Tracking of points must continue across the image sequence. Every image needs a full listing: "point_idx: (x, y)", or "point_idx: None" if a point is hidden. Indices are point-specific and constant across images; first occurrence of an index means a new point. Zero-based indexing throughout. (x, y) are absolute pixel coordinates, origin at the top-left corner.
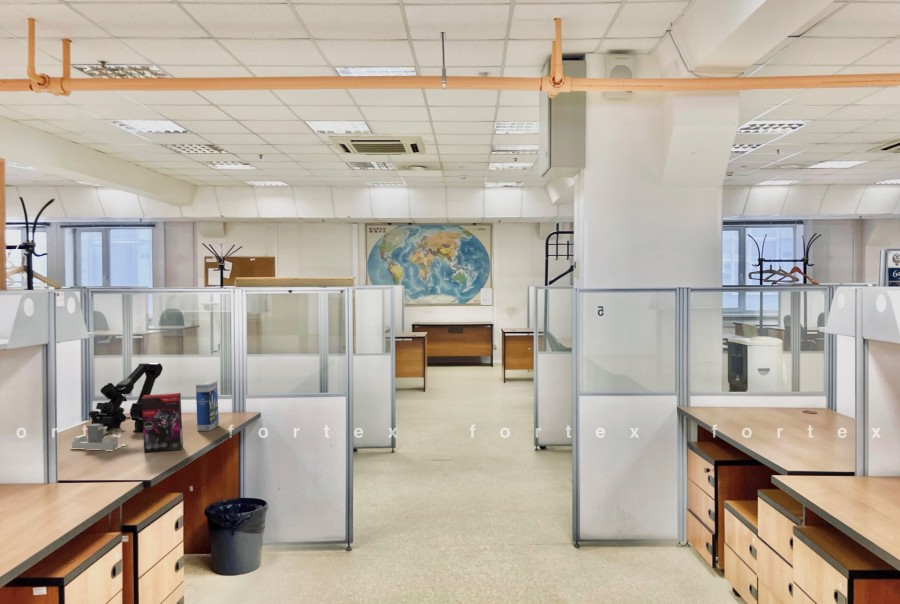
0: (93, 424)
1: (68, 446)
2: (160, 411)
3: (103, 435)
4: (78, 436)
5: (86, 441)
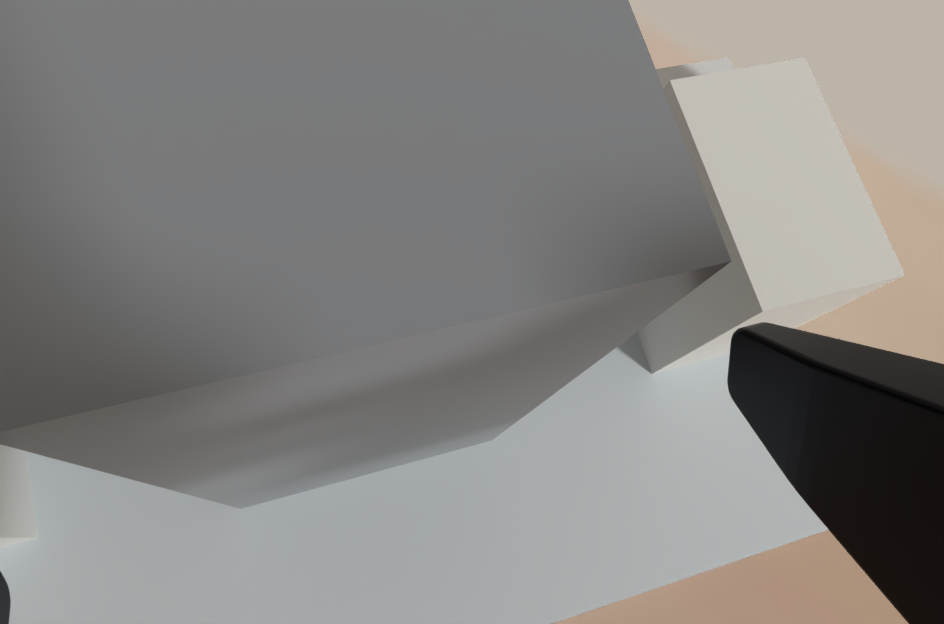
0: (521, 109)
1: (879, 203)
2: None
3: (186, 491)
4: (805, 146)
5: (682, 344)
